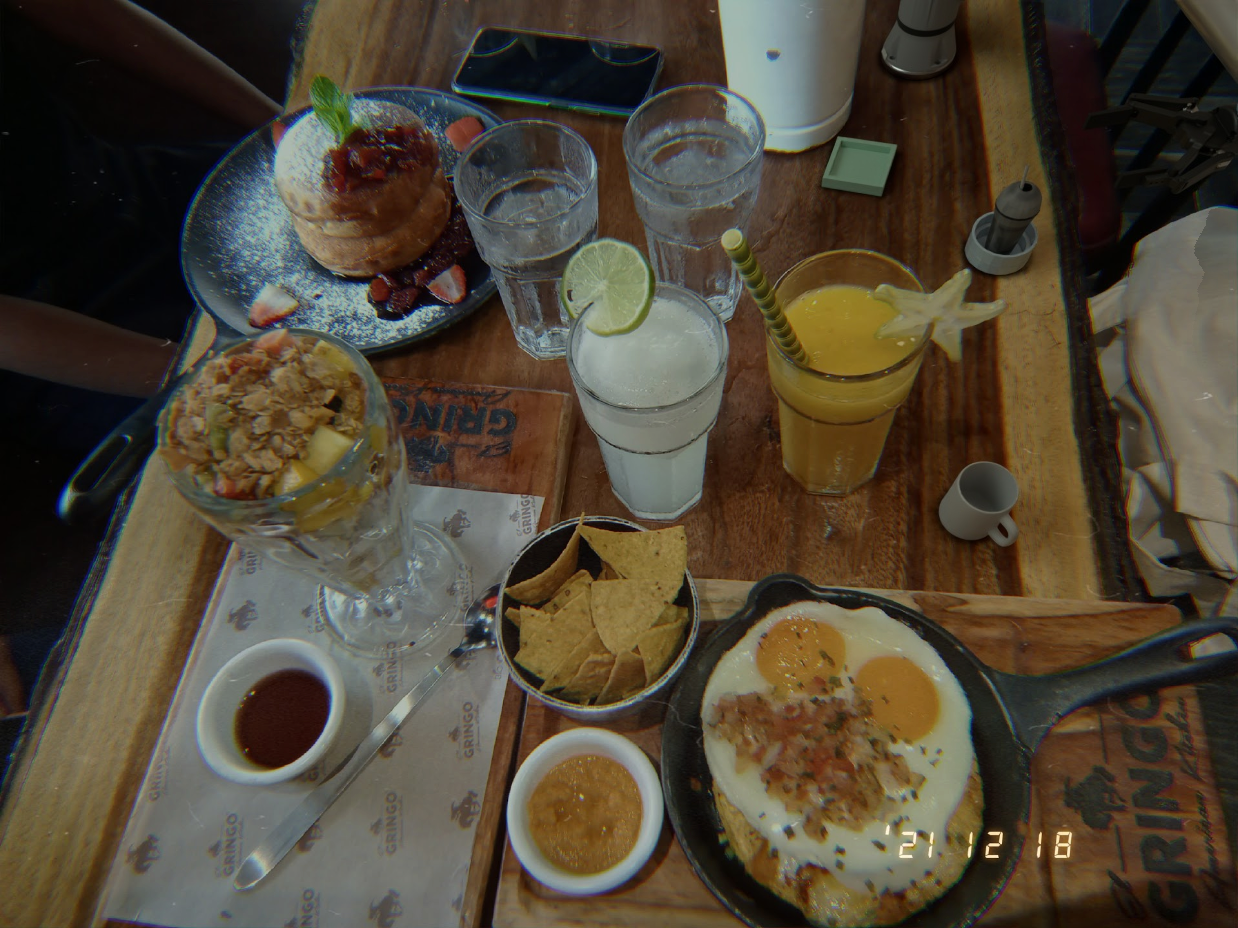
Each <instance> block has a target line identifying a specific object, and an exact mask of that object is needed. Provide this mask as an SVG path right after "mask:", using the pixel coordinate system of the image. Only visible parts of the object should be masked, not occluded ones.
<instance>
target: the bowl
mask: <svg viewBox="0 0 1238 928" xmlns="http://www.w3.org/2000/svg"><path fill="white" fill-rule="evenodd" d="M993 215H994V210H993V211H990V212H987V213H984V214H982V215H981V216H980V217H978V218H977V219H976V220H975V222H974V223H973V224H972V227H971V230H970V232H969V234H968V236H967V240H966V243H965V246H964V253H965V257H966V259H967V261H968V262H969V264H971V265H972V266H973V267H975V269H977V270H979V271H981V272H983V273H985V274H990V275H995V276H1000V275H1001V276H1003V275H1004V276H1005V275H1010V274H1013V273H1016V272H1018V271H1020V270H1021V269H1022V268H1024V267H1025V265H1026V264H1027V263H1028V261H1029V259H1030V257H1031V255H1032V254H1033V252H1034V250H1035V247H1036V246H1037V244H1038V241H1039V236H1040V235H1039V230H1038V227H1037V226H1036V225H1035V223H1034V222H1033V220H1032V221H1031V223H1029V225H1028V227H1027V228H1026V230H1025V231H1024V233H1023V235H1022V236H1021V238H1020V239H1019V241H1018V243H1017V244H1016V246H1015V247H1014V249H1013V250H1012V252H1011V253H1010V255H1000V254H995V253H993V252H991V251H988V250H986V249H985V248H984V247H985V243H986V239H987V236H988V232H989V229H990V226H991V222H992V219H993Z"/></svg>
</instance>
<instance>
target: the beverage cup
mask: <svg viewBox="0 0 1238 928" xmlns="http://www.w3.org/2000/svg"><path fill="white" fill-rule="evenodd" d="M1024 167H1025V168H1024V171H1023V174H1022V177H1021V180H1018V181H1014V182H1011V183H1010V184H1008V185H1007V186H1005V187H1004V188H1003V189H1002V191H1001V192H1000V193H999V194H998V196H997V197H996V198H995V202H994V209H993V211H994V215H993V219H992V222H991V226H990V229H989V232H988V236H987V239H986V243H985V247H984V248H985V249H986V250H988V251H991V252H993V253H995V254H1000V255H1010V253H1011V252H1012V250H1013V249H1014V247H1015V246H1016V244H1017V243H1018V241H1019V239H1020V238H1021V236H1022V235H1023V233H1024V231H1025V230H1026V228H1027V227H1028V225H1029V223H1031V221H1032V222H1033V221H1034V219H1035V218H1036V216H1038V215H1039V213H1040V212H1041V208H1042V202H1043V195H1042V192H1041V189H1040V188H1039V187H1038V186H1037V184H1036V183H1034V182H1032V181H1029V180H1026V179H1027V175H1028V172H1029V168H1030V164H1029V163H1027V164H1026V165H1025V166H1024Z"/></svg>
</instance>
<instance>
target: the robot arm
mask: <svg viewBox="0 0 1238 928" xmlns="http://www.w3.org/2000/svg"><path fill="white" fill-rule="evenodd" d="M1173 1H1174V2H1175V4H1176V5H1177V6H1178V8H1179V9H1180V11H1182V13H1183V15H1184V16H1185V17H1186V19H1188V21H1189V22H1190V23H1191V25H1192V27H1194V29H1195V30H1196V31H1197V33H1198V34H1199V35H1200V37H1201V38H1202V39H1203V41H1204V42H1205V43H1206V45H1207V47H1209V48H1210V50H1211V51H1212V52H1213V54H1214V55H1215V56H1216V58H1217V59H1218V60H1219V62H1220V63H1221V64H1222V66H1223V67H1224V68H1225V70H1226V71H1227V72H1228V73H1229V75H1230V76H1231V78H1232V79H1233V81H1235V83H1236V84H1237V85H1238V0H1173ZM963 2H965V0H900V2H899V7H898V12H897V17H896V21H895V22H894V25H893V27H892V28H891V30H890V32H889V34H888V36H887V37H886V39H885V41H884V43H883V46H882V49H881V55H880V60H881V64H882V66H883V68H884V69H885V70H886V71H887V72H889V74H891V75H893V76H896V77H898V78H900V79H906V80H910V81H922V80H928V79H932V78H935V77H938V76H940V75H942V74H944V73H945V72H946V71H948V69H950V67H951V66H952V64H953V63H954V60H955V56H956V53H957V41H956V30H955V27H956V26H955V23H956V19H957V15H958V12H959V8H960V5H961V4H962V3H963ZM1199 102H1200V98H1199V97H1196V96H1195V97H1193V96H1192V97H1174V96H1165V95H1157V94H1156V95H1155V94H1149V93H1140V92H1139V93H1138V92H1131V93H1129V95H1128V97H1127V99H1126V101H1125V103H1124V104H1120V105H1115V106H1109V107H1108V108H1106V109H1104V110H1098V111H1091V112H1088V114H1087V116H1086V118H1085V120H1084V122H1083V124H1082V127H1081V129H1082V130H1083V131H1087V130H1093V129H1099V128H1104V127H1111V126H1116V125H1122V124H1126V123H1127V121H1128V120H1129V121H1132V122H1136V123H1139V124H1144V125H1147V126H1151V127H1154V128H1158V129H1161V130H1165V132H1166V134H1168V135H1171V136H1174V138H1175V140H1177V142H1178V143H1179V146H1180V148H1181V149H1182V150H1185V152H1184V153H1183V155H1182V156H1181V157H1180V158H1179V159H1178V160H1177V161H1176V162H1175V164H1174V165H1171V167H1170V169H1169V166H1168V165H1167V164H1164V165H1163V164H1162V165H1157V166H1152V167H1151V166H1150V167H1145V168H1140V169H1133V170H1127V171H1122V172H1120V174H1119V175H1118V177H1117V179H1116V180H1115V182H1114V184H1113V188H1114V190H1121V189H1126V188H1133V187H1139V186H1140V187H1142V188H1151V187H1157V186H1163V187H1169V188H1170V192H1171V193H1172V194H1174V195H1177V194H1180V193H1182V192H1183V191H1185V190H1187V189H1188V188H1189V187H1191V186H1193V185H1194V184H1196V183H1198V182H1199V181H1201V180H1202V179H1204V178H1206V177H1208V176H1209V175H1211V174H1212V173H1215V172H1219V171H1224V170H1226V168H1227V167H1228V165H1229V164H1230V163H1231V162H1232V160H1233V159H1234V157H1236V155H1237V154H1238V101H1237V102H1231V103H1226V104H1225V103H1224V104H1221V105H1219V106H1218V107H1216V108H1213V109H1211V110H1209V111H1203V110H1199V108H1198V106H1197V105H1198V104H1199ZM1180 120H1183V121H1182V122H1181V123H1180V124H1179V125H1178V127H1177V126H1176V125H1177V124H1178V122H1180ZM1198 155H1203V156H1208V157H1210V158H1208V159H1206V160H1204V161H1203V162H1202V163H1200V164H1198V165H1197V166H1195V167H1194V168H1192V169H1190V170H1188V171H1187V172H1184V170H1185V169H1186V168H1187V167H1188V166H1189V165H1190V164H1191V163H1193V162H1194V160H1195V159H1196V158H1197V157H1198ZM1183 172H1184V174H1182V173H1183ZM1181 174H1182V175H1181Z"/></svg>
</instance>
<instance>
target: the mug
mask: <svg viewBox="0 0 1238 928" xmlns="http://www.w3.org/2000/svg"><path fill="white" fill-rule="evenodd" d="M1019 497H1020V487H1019V483H1018V481H1017V479H1016V477H1015V476H1014V474H1013V473H1012V472H1011V471H1010V470H1009V469H1007V468H1006V467H1005V466H1003V465H1001V464H999V463H996V462H993V461H975V462H973V463H971V464H968V465H967V466H965V467H964V468H963V469H962V470H961V471H960V472H959V473H958V476H957V477H956V478H955V480H954V482H953V483H952V485H950V487H949V489H948V491H947V492H946V493H945V495H944V496H943V497H942V500H941V501H940V504H939V506H938V516H939V517H938V518H939V520H940V523H941V524H942V526H943V527H944V529H946V531H947V532H948V533H950V534H951V535H952V536H954V537H956V538H958V539H962V540H966V541H977V540H981V539H984V538H985V537H988V536H989V537H990V538H991V539H992V540H993V542H994V543H996V545H998V546H999V547H1009V546H1011V545H1013V544H1014V543H1016V541H1017V540H1018V538H1019V537H1020V536H1019V535H1020V530H1019V527H1018V524H1017V523H1016V522H1015V520H1014V519H1013V518H1012V517H1011V516H1010V512H1011V511H1012V509H1013V508H1014V507H1015V506H1016V504H1017V502H1018V500H1019ZM1000 524H1001V525H1002V526H1003V527H1004V529H1005V530H1006V531H1007V534H1008V536H1007V537H1005V536H1004V534H1003V533H1002V532H1001V531H1000V530H999V528H998V526H999V525H1000Z"/></svg>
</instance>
